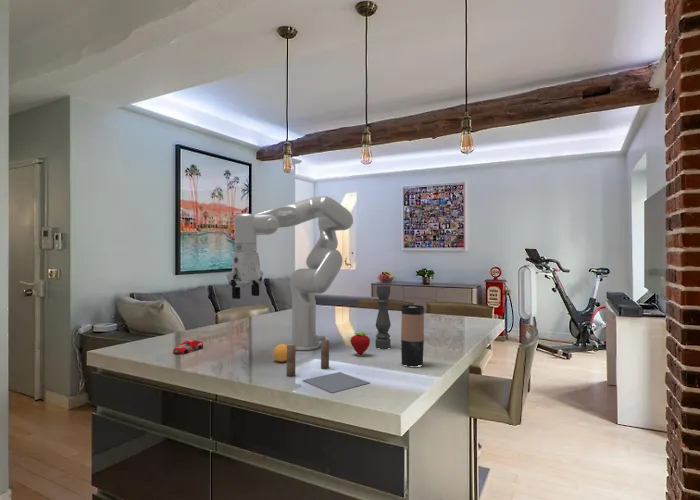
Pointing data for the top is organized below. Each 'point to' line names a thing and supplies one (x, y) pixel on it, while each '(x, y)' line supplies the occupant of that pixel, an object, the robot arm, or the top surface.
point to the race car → (188, 347)
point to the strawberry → (360, 342)
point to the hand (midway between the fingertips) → (246, 297)
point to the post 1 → (291, 360)
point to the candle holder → (383, 318)
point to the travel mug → (412, 335)
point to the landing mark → (335, 382)
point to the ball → (280, 353)
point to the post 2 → (324, 354)
